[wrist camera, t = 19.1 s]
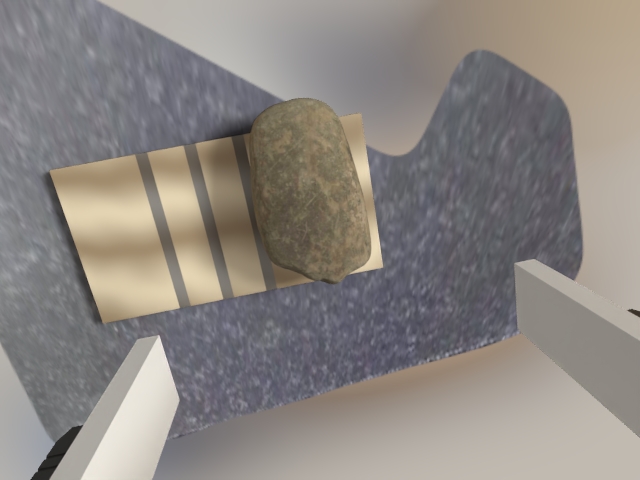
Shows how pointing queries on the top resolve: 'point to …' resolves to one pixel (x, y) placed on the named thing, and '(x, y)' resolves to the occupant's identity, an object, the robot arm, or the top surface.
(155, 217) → the board
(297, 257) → the stone
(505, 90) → the top surface
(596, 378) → the robot arm
